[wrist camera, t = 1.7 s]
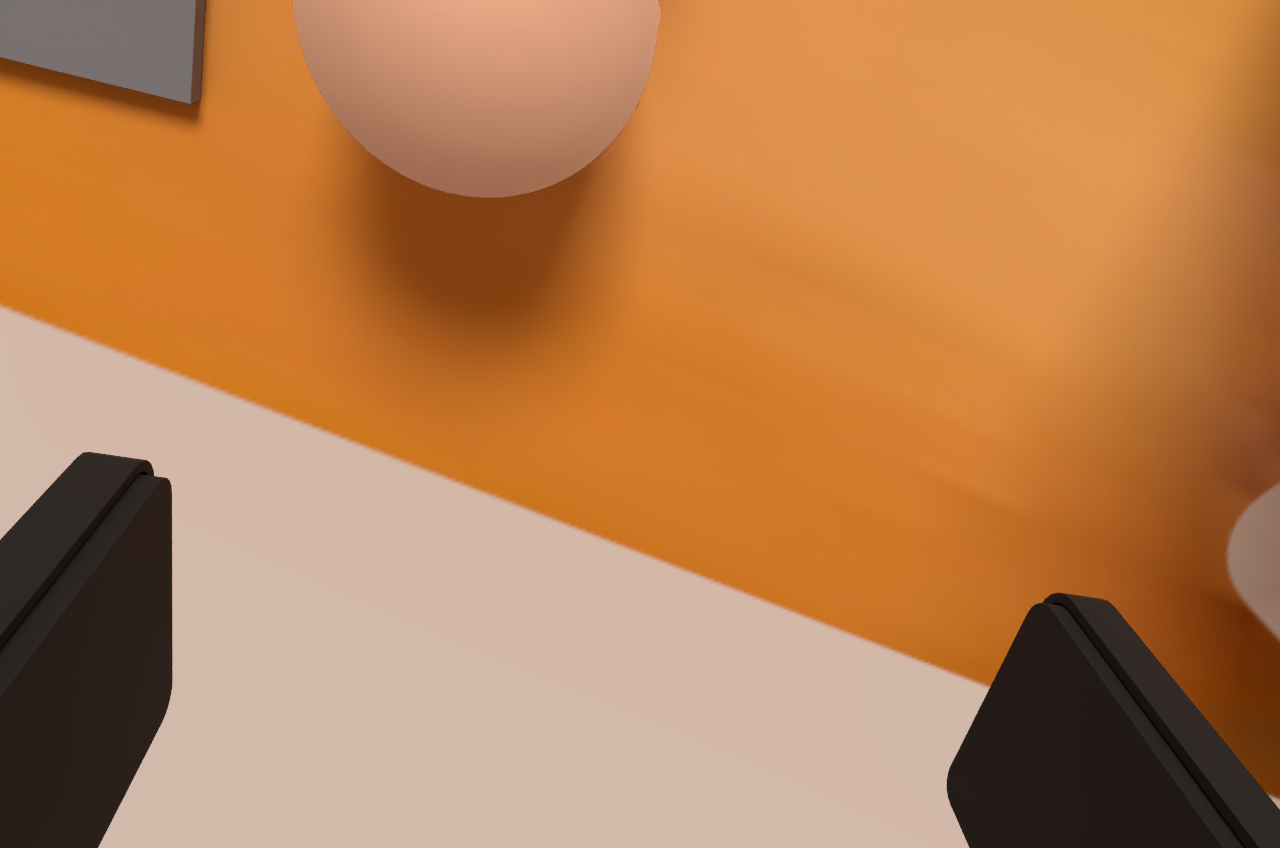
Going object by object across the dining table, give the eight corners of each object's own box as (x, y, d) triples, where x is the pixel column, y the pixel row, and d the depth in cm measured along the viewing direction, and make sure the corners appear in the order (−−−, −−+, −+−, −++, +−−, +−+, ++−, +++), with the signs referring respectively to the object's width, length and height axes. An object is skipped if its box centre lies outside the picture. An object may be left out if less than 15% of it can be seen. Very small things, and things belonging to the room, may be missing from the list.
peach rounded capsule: (386, -201, 25) (312, -253, 18) (666, -114, 26) (701, -130, 19) (350, 95, 28) (276, 151, 21) (600, 159, 29) (609, 232, 22)
